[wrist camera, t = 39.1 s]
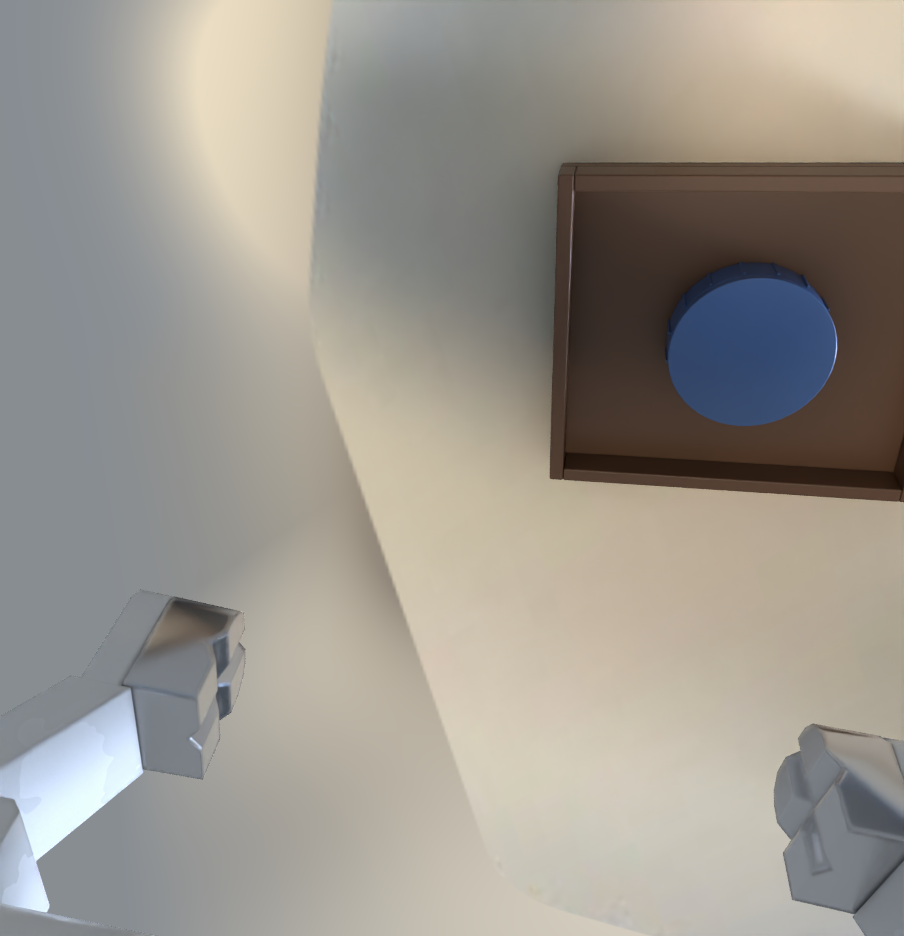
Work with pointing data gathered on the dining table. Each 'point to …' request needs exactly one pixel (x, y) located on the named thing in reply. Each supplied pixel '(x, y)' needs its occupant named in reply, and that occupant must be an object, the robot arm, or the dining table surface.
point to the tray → (676, 271)
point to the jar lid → (750, 344)
